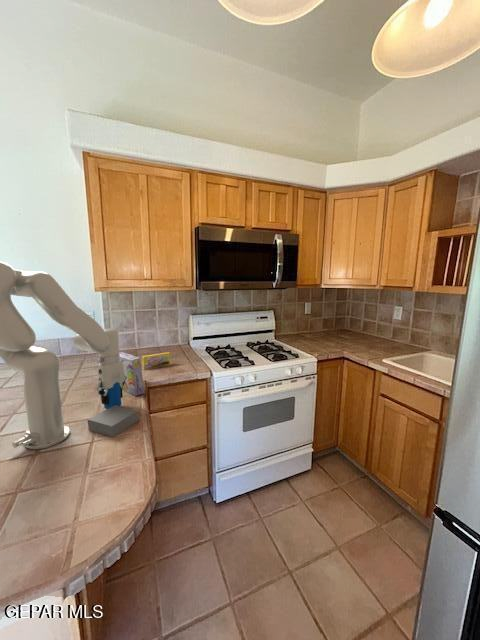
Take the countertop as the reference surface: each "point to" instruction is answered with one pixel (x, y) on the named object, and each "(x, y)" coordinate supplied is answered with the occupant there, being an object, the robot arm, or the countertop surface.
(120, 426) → the block
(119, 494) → the countertop surface
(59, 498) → the countertop surface
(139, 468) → the countertop surface
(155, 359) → the candy box
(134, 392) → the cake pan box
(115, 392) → the beverage can
